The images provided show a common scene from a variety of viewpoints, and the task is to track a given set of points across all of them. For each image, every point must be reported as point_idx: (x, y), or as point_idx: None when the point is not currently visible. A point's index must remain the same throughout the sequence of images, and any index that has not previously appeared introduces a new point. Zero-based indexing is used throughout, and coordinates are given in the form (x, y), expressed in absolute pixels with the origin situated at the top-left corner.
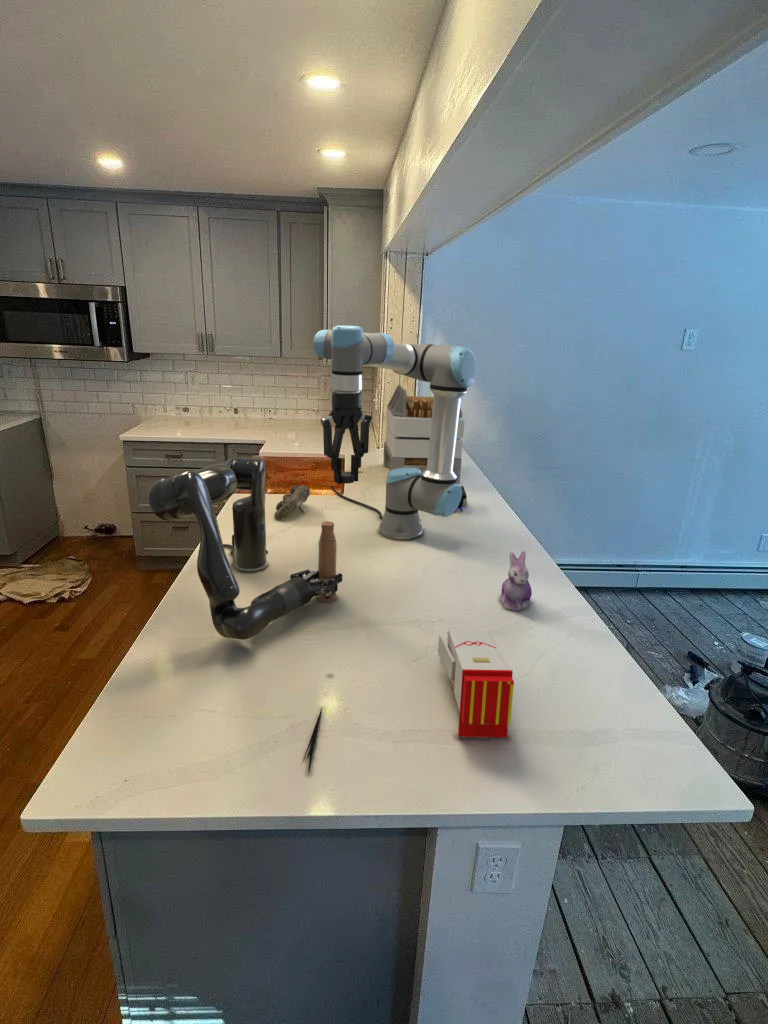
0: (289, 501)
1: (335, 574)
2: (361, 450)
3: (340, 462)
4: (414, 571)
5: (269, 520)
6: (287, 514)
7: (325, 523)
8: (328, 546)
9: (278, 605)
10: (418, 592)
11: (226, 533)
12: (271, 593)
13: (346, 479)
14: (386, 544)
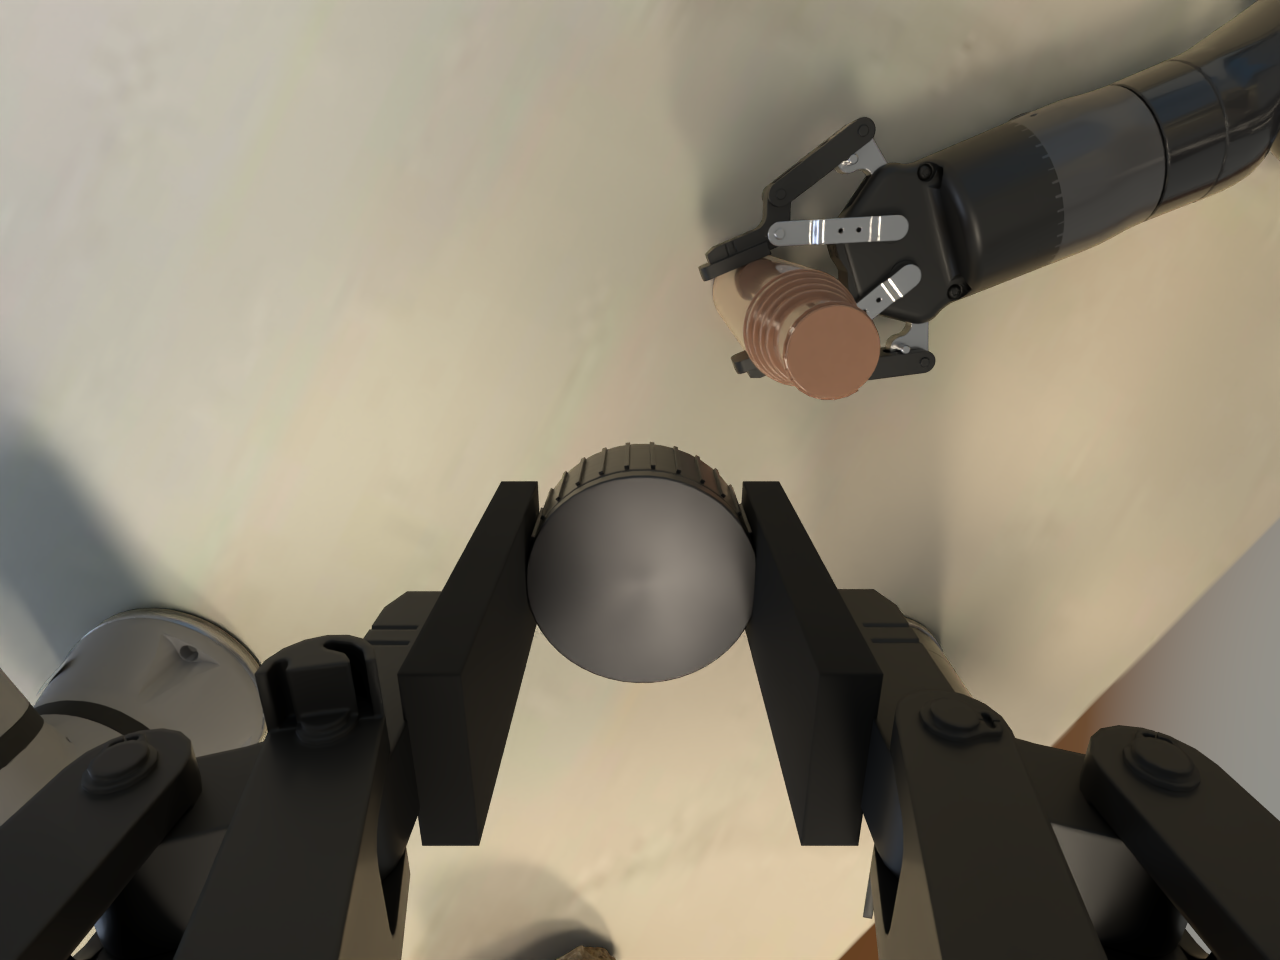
0: None
1: (740, 270)
2: (246, 795)
3: (829, 636)
4: (278, 332)
5: (639, 957)
6: (579, 956)
7: (848, 360)
8: (825, 273)
9: (1171, 69)
10: (351, 133)
11: (828, 919)
12: (1199, 129)
13: (693, 469)
14: (288, 614)
